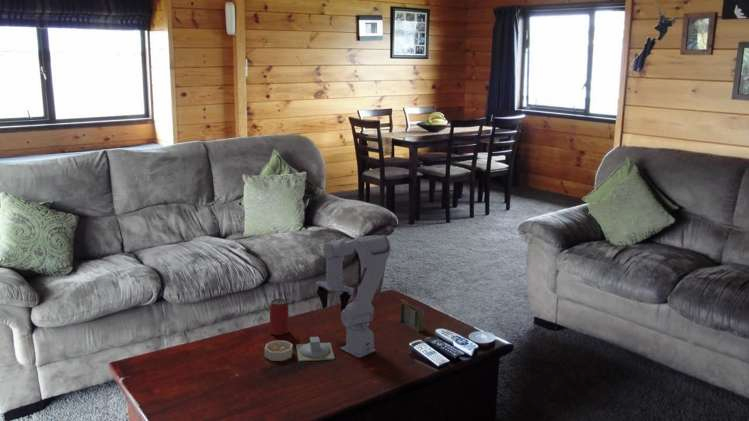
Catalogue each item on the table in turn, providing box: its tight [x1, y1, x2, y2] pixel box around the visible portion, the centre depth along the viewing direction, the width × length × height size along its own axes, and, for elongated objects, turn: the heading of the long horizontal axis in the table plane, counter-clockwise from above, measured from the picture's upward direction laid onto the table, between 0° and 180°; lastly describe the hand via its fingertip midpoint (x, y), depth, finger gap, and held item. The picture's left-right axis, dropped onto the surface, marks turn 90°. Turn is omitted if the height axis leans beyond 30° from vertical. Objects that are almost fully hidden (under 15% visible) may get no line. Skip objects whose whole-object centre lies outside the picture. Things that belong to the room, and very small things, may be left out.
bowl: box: [264, 340, 294, 362], centre depth 228 cm, size 9×9×3 cm
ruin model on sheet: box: [399, 298, 425, 333], centre depth 253 cm, size 11×3×10 cm, turn 34°
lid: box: [300, 336, 330, 358], centre depth 230 cm, size 10×10×4 cm
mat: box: [295, 342, 336, 363], centre depth 231 cm, size 12×12×1 cm
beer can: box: [269, 298, 289, 337], centre depth 244 cm, size 7×7×12 cm
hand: (334, 309), depth 244 cm, fingers open, 7 cm apart
